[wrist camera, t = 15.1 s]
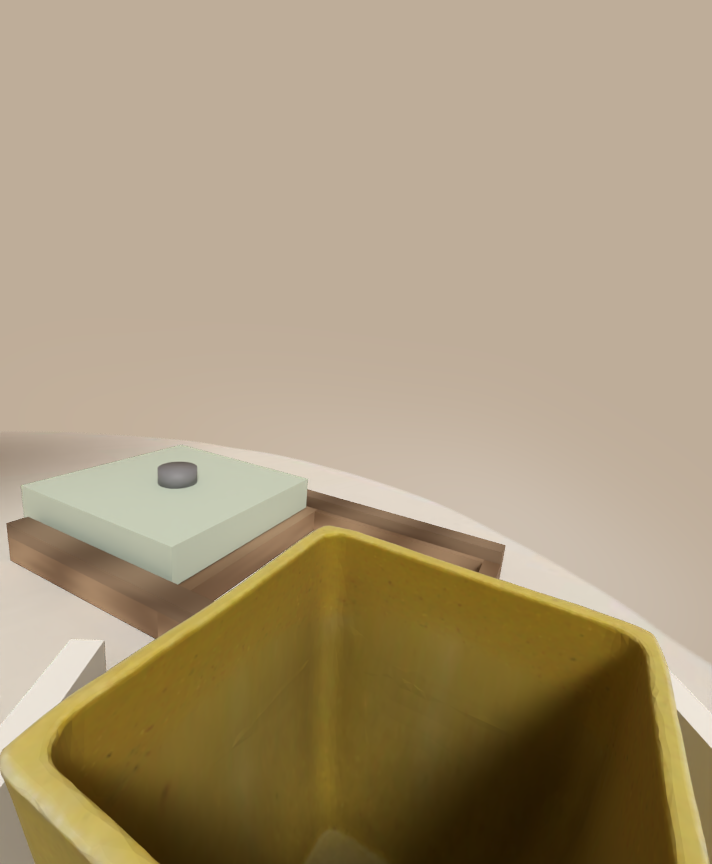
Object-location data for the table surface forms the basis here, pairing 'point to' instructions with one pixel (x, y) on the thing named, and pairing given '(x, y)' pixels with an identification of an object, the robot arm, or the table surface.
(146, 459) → the cover
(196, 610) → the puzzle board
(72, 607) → the table surface
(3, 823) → the robot arm
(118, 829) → the flower pot
